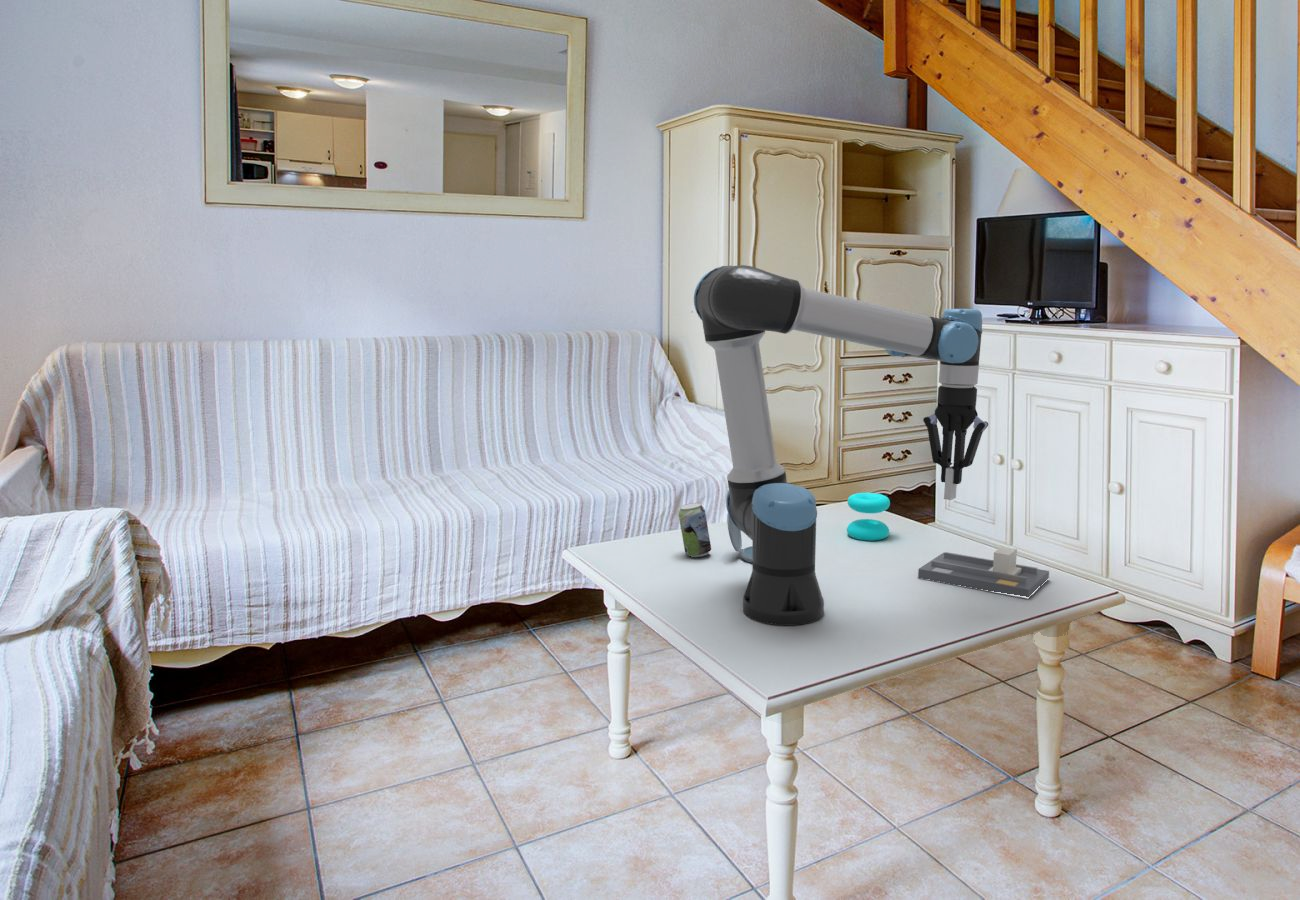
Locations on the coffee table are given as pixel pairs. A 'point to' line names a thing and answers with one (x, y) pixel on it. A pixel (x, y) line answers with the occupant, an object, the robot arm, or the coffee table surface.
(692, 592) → the coffee table surface
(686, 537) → the beverage can
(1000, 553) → the switch tab
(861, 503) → the donuts
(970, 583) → the switch panel
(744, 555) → the pocket watch
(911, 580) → the coffee table surface
